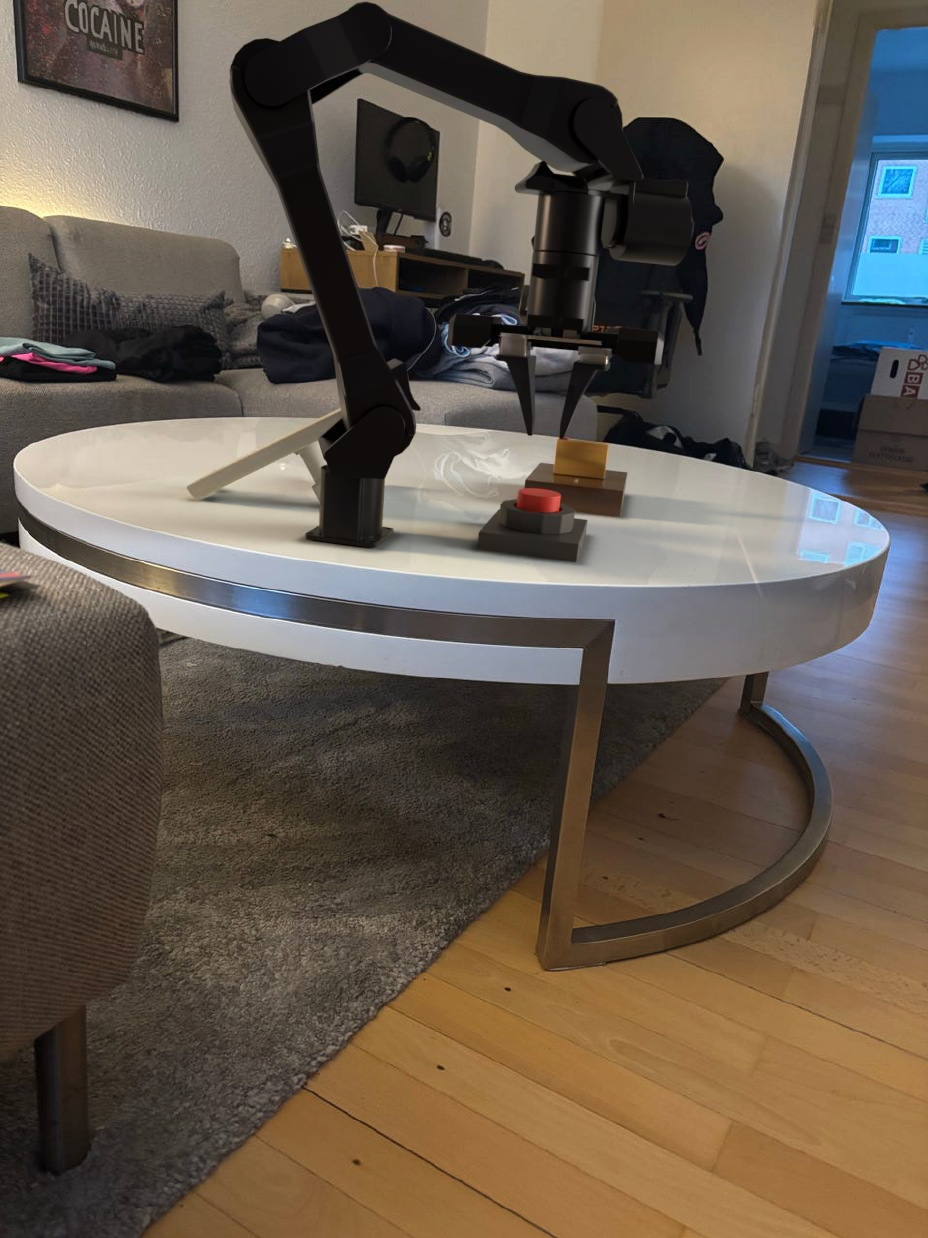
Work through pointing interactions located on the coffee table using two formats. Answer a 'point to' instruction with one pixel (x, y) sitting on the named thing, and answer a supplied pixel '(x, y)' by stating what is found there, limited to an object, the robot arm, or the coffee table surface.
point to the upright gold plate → (581, 458)
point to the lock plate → (582, 490)
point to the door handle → (272, 457)
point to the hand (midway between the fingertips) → (545, 436)
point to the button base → (534, 532)
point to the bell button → (538, 500)
